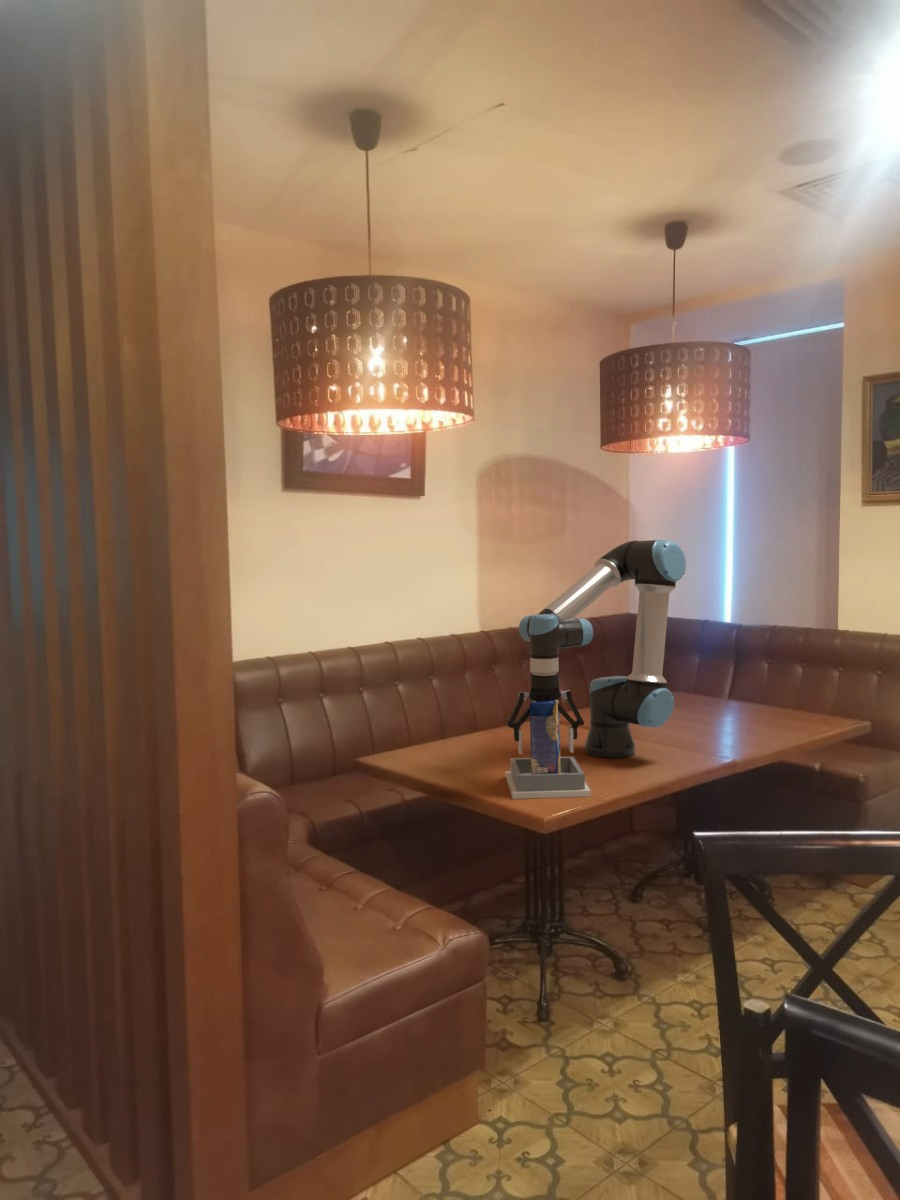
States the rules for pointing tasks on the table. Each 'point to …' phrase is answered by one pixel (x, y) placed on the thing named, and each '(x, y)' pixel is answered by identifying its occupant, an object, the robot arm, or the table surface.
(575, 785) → the holder
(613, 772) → the table surface
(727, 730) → the table surface
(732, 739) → the table surface
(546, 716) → the beverage box
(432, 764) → the table surface
